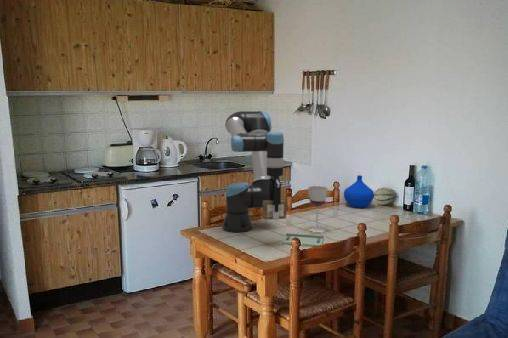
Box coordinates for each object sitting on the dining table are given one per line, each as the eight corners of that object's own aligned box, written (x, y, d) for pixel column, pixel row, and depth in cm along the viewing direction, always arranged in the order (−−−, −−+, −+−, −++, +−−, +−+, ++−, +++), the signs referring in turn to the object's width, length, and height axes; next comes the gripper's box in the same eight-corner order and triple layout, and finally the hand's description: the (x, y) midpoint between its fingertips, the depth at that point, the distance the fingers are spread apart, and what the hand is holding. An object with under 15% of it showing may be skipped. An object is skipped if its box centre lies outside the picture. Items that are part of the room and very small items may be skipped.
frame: (264, 219, 207) (264, 202, 206) (262, 217, 211) (262, 200, 210) (286, 218, 209) (286, 201, 208) (283, 216, 213) (283, 199, 212)
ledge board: (281, 244, 212) (282, 240, 212) (286, 236, 223) (286, 233, 223) (321, 247, 208) (321, 243, 207) (323, 239, 219) (323, 236, 218)
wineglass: (321, 234, 228) (323, 190, 224) (304, 230, 233) (305, 188, 229) (328, 229, 235) (330, 187, 231) (311, 226, 240) (312, 185, 236)
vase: (367, 211, 272) (369, 179, 269) (338, 207, 282) (339, 176, 279) (377, 205, 287) (379, 175, 284) (349, 201, 297) (350, 172, 294)
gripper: (288, 169, 199) (287, 221, 203) (278, 163, 216) (277, 212, 219) (271, 169, 197) (271, 222, 201) (262, 164, 214) (262, 213, 218)
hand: (274, 217), depth 210 cm, fingers closed on frame, 4 cm apart
